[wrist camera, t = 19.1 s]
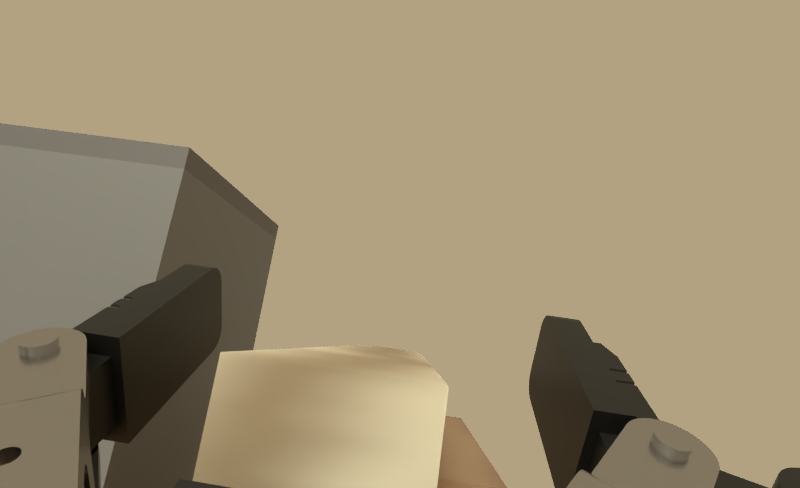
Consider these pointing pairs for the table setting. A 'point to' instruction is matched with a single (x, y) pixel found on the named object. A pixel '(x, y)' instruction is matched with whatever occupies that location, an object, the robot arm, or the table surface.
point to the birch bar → (323, 419)
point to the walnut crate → (464, 460)
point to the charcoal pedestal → (126, 262)
